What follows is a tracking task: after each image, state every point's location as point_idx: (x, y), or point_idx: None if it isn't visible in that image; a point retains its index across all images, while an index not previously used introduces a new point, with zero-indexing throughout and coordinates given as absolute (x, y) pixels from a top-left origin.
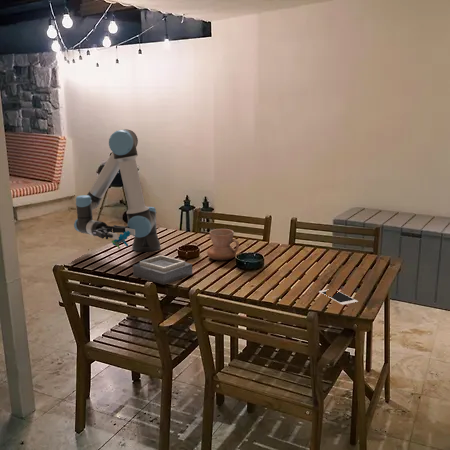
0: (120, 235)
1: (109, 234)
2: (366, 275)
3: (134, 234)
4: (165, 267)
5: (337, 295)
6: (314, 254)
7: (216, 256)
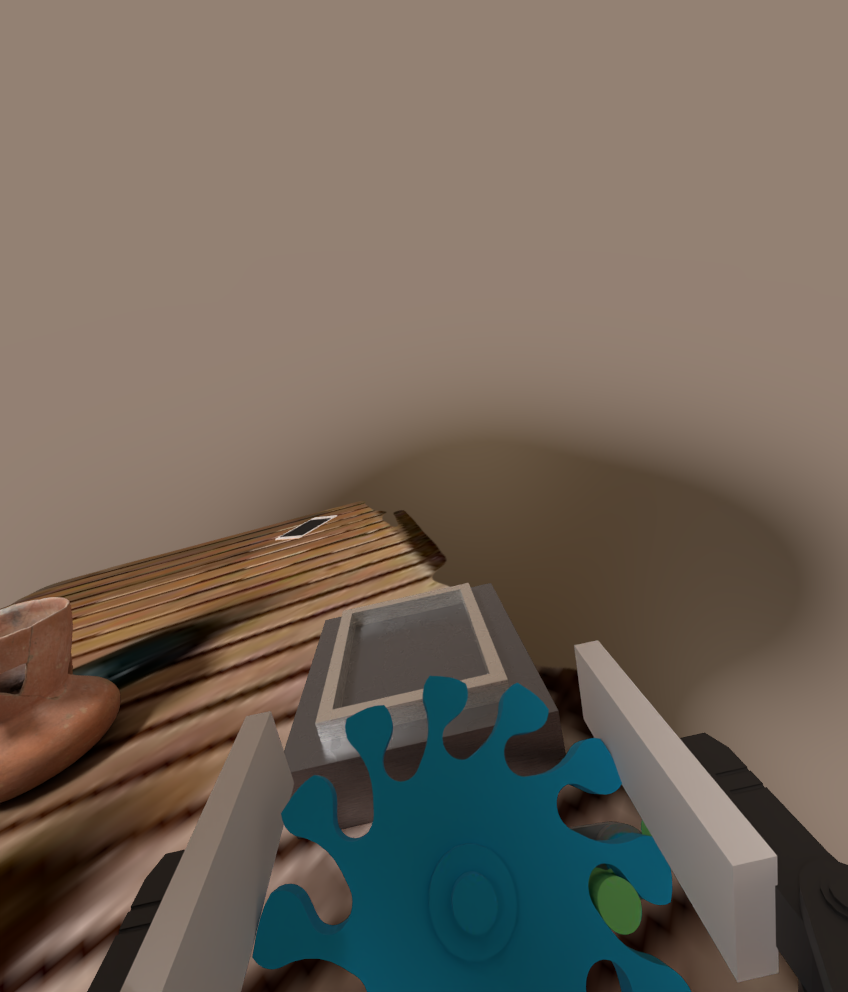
0: (534, 699)
1: (739, 778)
2: (177, 558)
3: (284, 775)
4: (459, 586)
5: (305, 527)
6: None
7: (117, 700)
